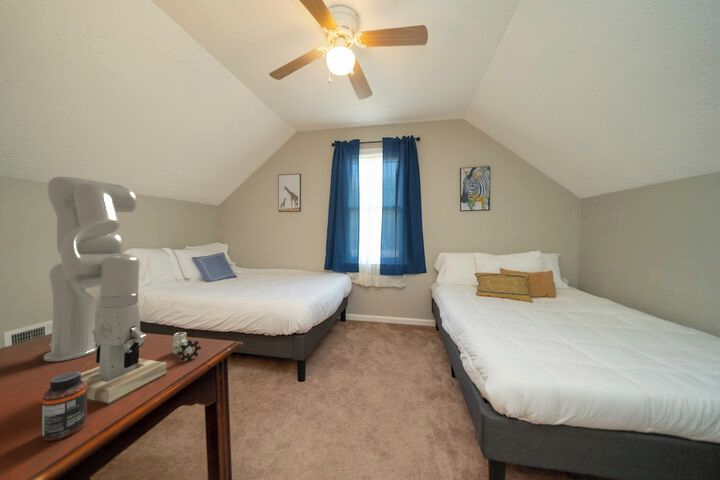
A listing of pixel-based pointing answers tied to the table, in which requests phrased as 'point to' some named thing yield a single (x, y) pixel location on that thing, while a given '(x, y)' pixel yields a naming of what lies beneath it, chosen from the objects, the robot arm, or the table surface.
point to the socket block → (122, 381)
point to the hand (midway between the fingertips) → (117, 363)
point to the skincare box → (112, 362)
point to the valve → (184, 346)
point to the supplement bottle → (64, 406)
